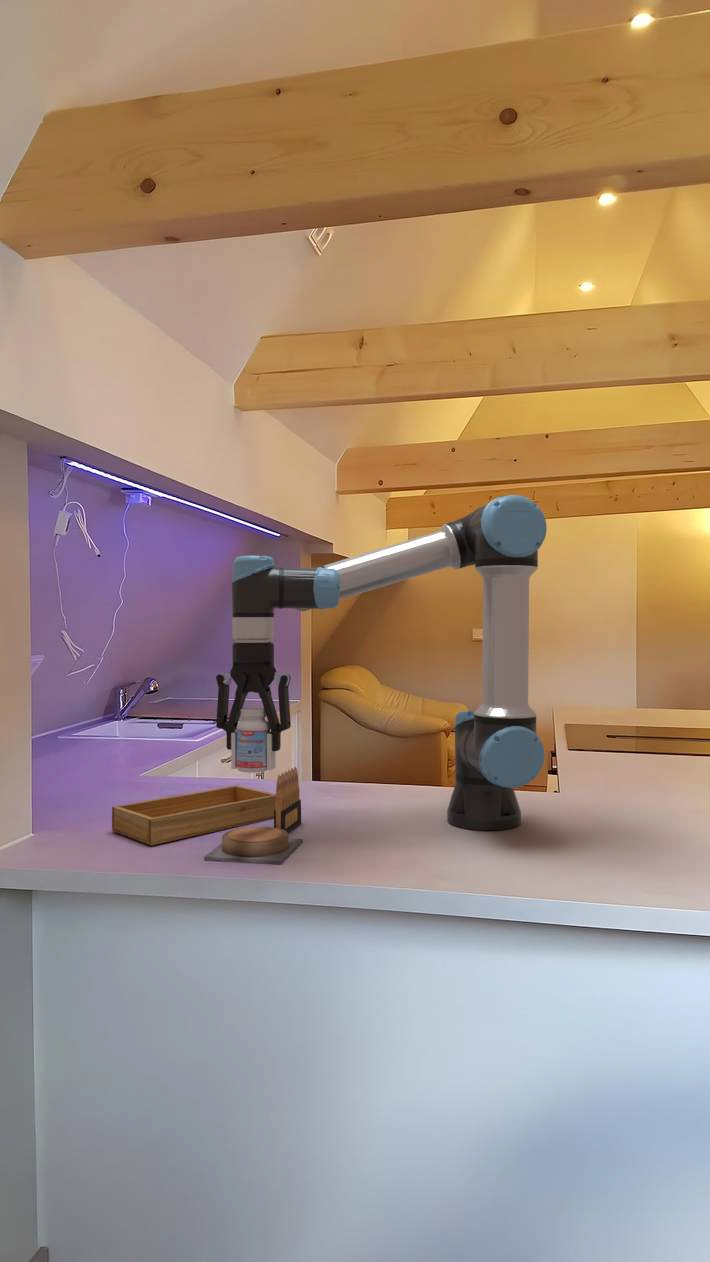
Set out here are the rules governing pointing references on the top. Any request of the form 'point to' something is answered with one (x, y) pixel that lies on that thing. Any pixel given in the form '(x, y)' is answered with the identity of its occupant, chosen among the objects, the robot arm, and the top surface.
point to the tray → (192, 814)
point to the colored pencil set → (287, 801)
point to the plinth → (255, 846)
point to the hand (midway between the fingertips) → (253, 768)
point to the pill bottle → (252, 740)
